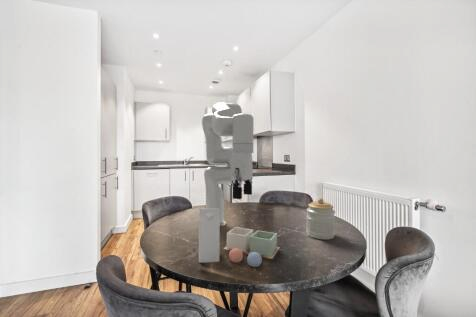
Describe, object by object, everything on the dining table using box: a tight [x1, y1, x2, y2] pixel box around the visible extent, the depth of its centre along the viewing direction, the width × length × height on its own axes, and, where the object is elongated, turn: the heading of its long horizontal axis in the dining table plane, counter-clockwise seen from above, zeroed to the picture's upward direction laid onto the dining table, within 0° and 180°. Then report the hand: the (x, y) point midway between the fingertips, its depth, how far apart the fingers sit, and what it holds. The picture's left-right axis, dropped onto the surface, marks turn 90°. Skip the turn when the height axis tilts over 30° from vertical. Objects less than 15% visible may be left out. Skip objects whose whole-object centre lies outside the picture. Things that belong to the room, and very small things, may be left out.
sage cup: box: [250, 230, 278, 257], centre depth 88 cm, size 8×8×6 cm
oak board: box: [222, 245, 281, 260], centre depth 90 cm, size 20×11×1 cm, turn 65°
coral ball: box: [228, 248, 244, 263], centre depth 80 cm, size 5×5×5 cm
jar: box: [305, 198, 336, 241], centre depth 108 cm, size 13×13×18 cm
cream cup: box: [226, 226, 254, 252], centre depth 92 cm, size 8×8×6 cm
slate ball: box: [246, 252, 263, 268], centre depth 77 cm, size 5×5×5 cm
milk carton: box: [198, 207, 221, 266], centre depth 81 cm, size 7×7×19 cm
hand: (242, 196), depth 81 cm, fingers open, 9 cm apart
